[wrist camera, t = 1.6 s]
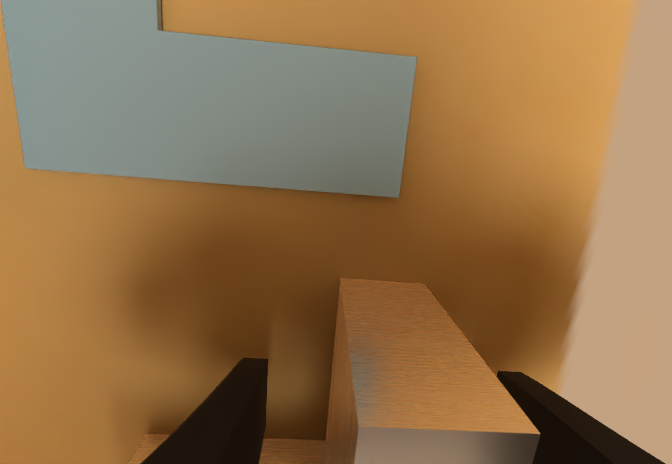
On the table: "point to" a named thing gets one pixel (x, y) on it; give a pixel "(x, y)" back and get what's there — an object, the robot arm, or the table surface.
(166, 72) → the pad
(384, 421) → the bracket
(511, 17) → the table surface
